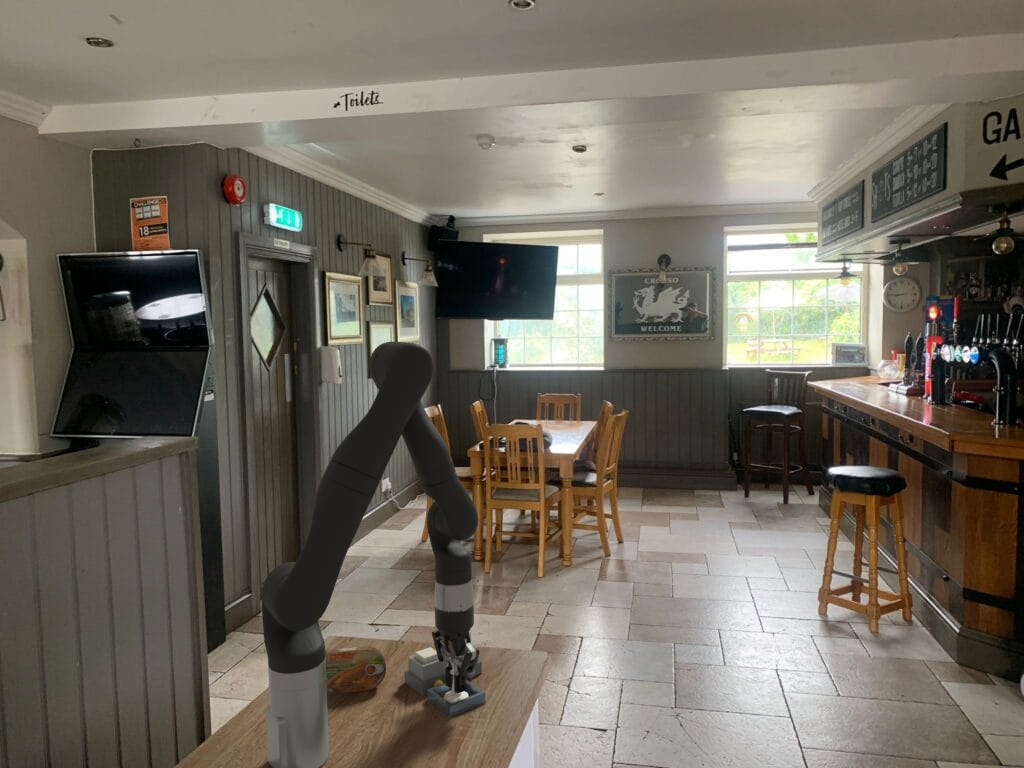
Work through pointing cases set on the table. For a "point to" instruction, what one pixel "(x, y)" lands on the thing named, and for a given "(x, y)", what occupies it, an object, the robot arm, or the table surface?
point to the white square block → (426, 655)
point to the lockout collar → (459, 706)
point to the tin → (354, 669)
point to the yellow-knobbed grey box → (431, 673)
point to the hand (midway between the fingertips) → (455, 688)
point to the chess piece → (452, 695)
